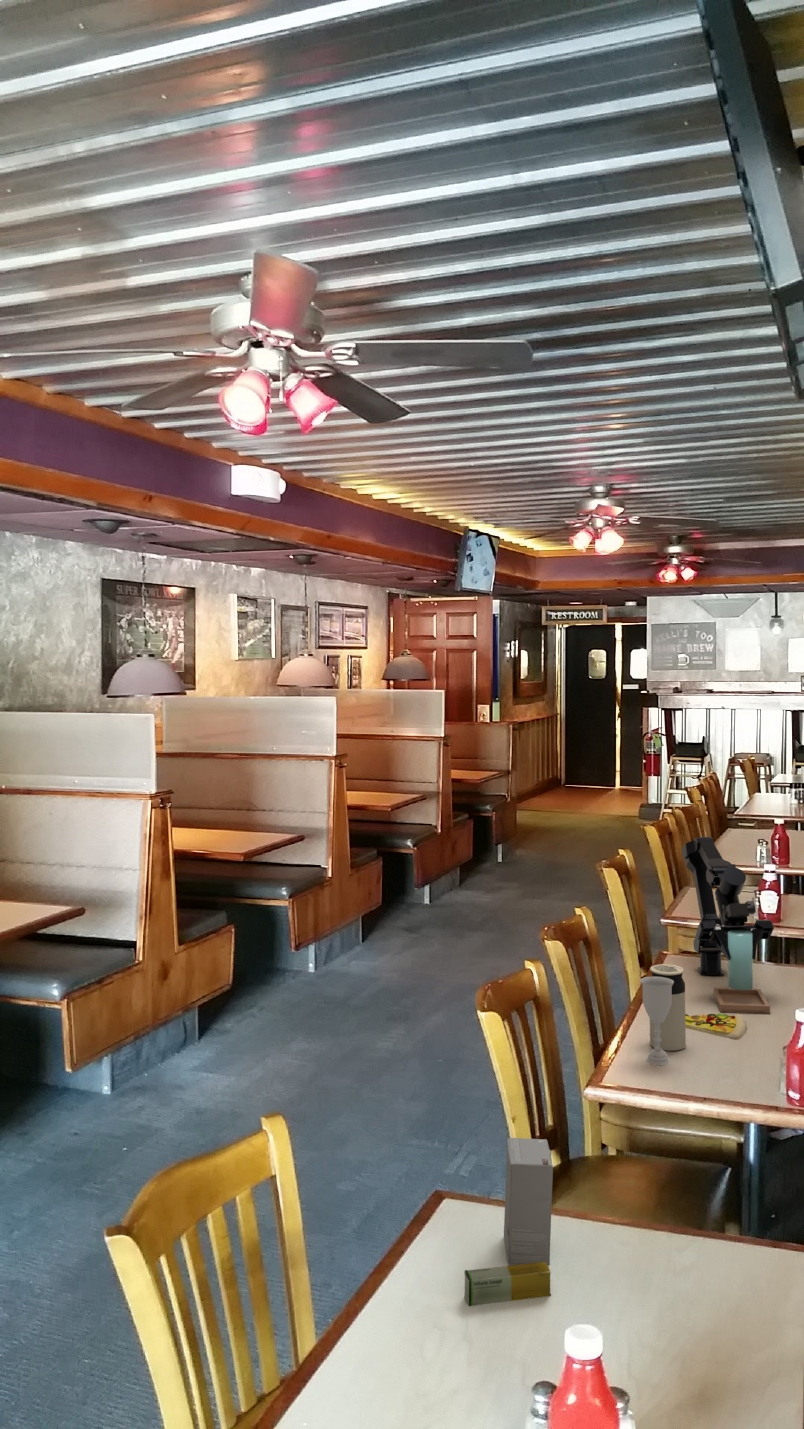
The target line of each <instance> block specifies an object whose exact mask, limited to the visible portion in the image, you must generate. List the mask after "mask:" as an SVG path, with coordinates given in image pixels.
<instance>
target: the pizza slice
mask: <svg viewBox="0 0 804 1429" xmlns="http://www.w3.org/2000/svg"><path fill="white" fill-rule="evenodd" d="M747 1028H748V1027H747V1021H746V1020H745V1018H744V1016H743V1015H741V1014H740V1013H737V1014H734V1015H728V1014H727V1013H724V1014H721V1013H717V1014H716V1013H708V1014H702V1015H700V1014H698V1015H697V1014H696V1015H689V1014H686V1013H685V1029H688V1030H693V1031H697V1032H700V1033H706V1034H710V1035H714V1036H718V1037H722V1038H727V1039H730V1040H736V1041H739V1040H740V1039H741V1038H742V1037H743V1036H744V1035H745V1034H746V1032H747Z"/></svg>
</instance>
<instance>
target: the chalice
mask: <svg viewBox="0 0 804 1429" xmlns="http://www.w3.org/2000/svg"><path fill="white" fill-rule="evenodd" d="M639 981H640V983H641V985H642V1004H643V1007H644V1009H645V1012H646V1014H647V1016H648V1018H649V1021H650V1020H651V1021H652V1022H654V1023H655V1030H654V1032H655V1038H654V1039H653V1040H654V1041H655V1044H656V1045H655V1047H653V1048H652V1049H651V1050H649V1052H648V1054H647V1058H646V1060H645V1061H646V1063H647V1064H650V1065H653V1066H666V1065H669V1064H670V1060H669V1057H668V1055H667V1051H664V1050H662V1049H661V1048H660V1041H662V1039H661V1038H660V1033H661V1030H660V1023H662V1022H664V1020H665V1018H666V1016H667V1014H668V1013H669V1010H670V1007H671V1004H672V985H673V983H674V981H673V980H671V979H669V978H664V977H652V976H645V977H642V978H640V980H639Z"/></svg>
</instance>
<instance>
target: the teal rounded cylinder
mask: <svg viewBox="0 0 804 1429" xmlns="http://www.w3.org/2000/svg"><path fill="white" fill-rule="evenodd" d="M728 949H729V953H730V960H728V959H727V965H728V966H727V980H728V981H727V982H728V983H727V984H728V985H727V986H728V988H732V989H735V990H750V989H754V987H753V984H754V983H753V982H754V981H753V980H754V978H753V977H754V974H753V973H754V970H753V969H754V967H753V965H754V963H753V962H754V960H753V943H752V932H749V931H745V930H731V931H728Z"/></svg>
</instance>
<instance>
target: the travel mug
mask: <svg viewBox="0 0 804 1429" xmlns="http://www.w3.org/2000/svg"><path fill="white" fill-rule="evenodd" d="M649 969H650V971H651V975H652V976H651V977H664V978H669V979H671V980H673V981H674V983H673V985H672V1004H671V1007H670V1010H669V1013H668V1014H667V1016H666V1018H665V1020H664V1022H662V1023H660V1030H661V1033H660V1038H661V1039H662V1041H660V1048H661V1049H662V1050H664V1051H665V1052H676V1051H680V1050H682V1049H684V1048H685V1047H686V1042H687V1040H686V1038H687V1036H686V1035H687V1034H686V1028H685V1014H686V982H685V981H684V978H683V973H684V971H685V970H684V968H683V967H682V966H679V965H674V964H669V963H668V964H666V963H665V964H664V963H663V964H660V963H659V964H656V965H652V966H651V967H650V968H649ZM654 1030H655V1023H654V1022H652V1021H651V1020H650V1019H649V1043H650V1044H649V1045H651V1047H653V1048H655V1045H656V1044H655V1041H654V1040H653V1039H654V1038H655V1032H654Z"/></svg>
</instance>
